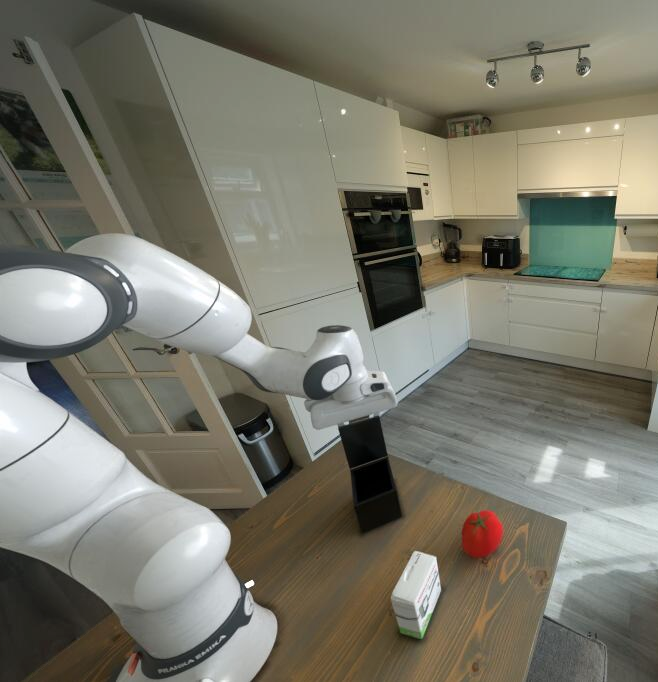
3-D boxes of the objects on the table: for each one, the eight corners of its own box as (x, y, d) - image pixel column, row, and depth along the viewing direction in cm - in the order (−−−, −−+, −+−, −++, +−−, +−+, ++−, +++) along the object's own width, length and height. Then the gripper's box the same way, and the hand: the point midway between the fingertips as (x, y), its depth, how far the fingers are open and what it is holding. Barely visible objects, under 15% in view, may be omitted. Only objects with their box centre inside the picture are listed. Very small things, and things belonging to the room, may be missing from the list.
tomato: (508, 532, 77) (508, 509, 73) (490, 574, 68) (489, 550, 65) (474, 519, 80) (473, 496, 77) (454, 558, 71) (451, 534, 68)
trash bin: (402, 516, 81) (396, 489, 76) (362, 534, 76) (353, 506, 72) (393, 481, 91) (387, 456, 86) (357, 495, 86) (349, 469, 82)
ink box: (422, 640, 58) (414, 606, 53) (398, 632, 59) (388, 598, 54) (442, 589, 66) (436, 555, 61) (420, 583, 67) (414, 549, 62)
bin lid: (379, 416, 80) (376, 406, 84) (338, 428, 76) (337, 417, 80) (387, 456, 86) (385, 444, 90) (349, 469, 82) (348, 456, 86)
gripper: (301, 405, 71) (317, 450, 77) (394, 381, 80) (402, 423, 86) (302, 391, 76) (317, 434, 82) (390, 369, 85) (397, 410, 91)
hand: (361, 428), depth 84 cm, fingers closed on bin lid, 5 cm apart
